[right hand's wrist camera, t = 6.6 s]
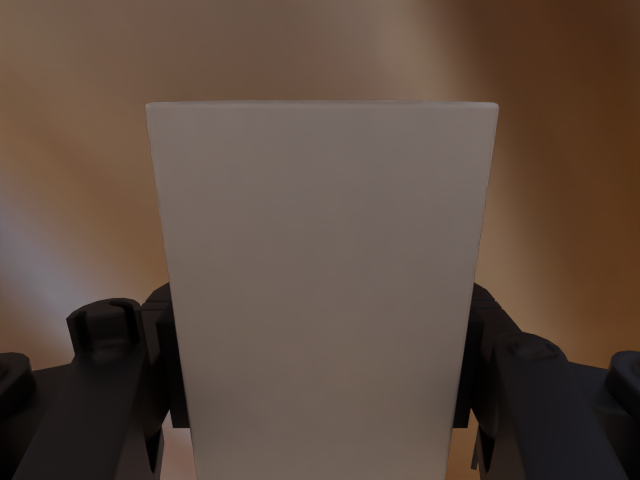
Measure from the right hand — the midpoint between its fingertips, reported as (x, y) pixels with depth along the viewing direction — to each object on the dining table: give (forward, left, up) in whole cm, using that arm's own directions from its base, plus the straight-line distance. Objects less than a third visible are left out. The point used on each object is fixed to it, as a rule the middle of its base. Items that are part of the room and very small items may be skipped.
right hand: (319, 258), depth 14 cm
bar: (+15, +17, -1) cm, 23 cm away
